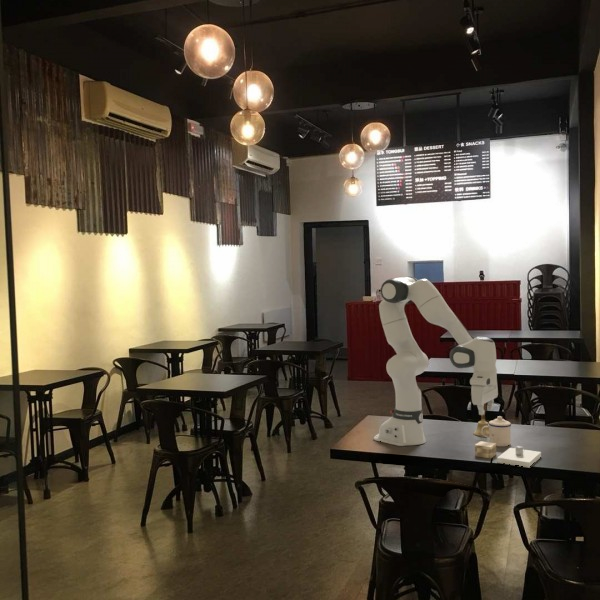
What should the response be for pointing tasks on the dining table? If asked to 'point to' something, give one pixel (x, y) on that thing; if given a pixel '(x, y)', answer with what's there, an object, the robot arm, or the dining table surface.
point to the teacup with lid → (499, 432)
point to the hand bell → (482, 425)
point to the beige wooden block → (485, 449)
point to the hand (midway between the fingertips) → (485, 412)
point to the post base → (519, 457)
